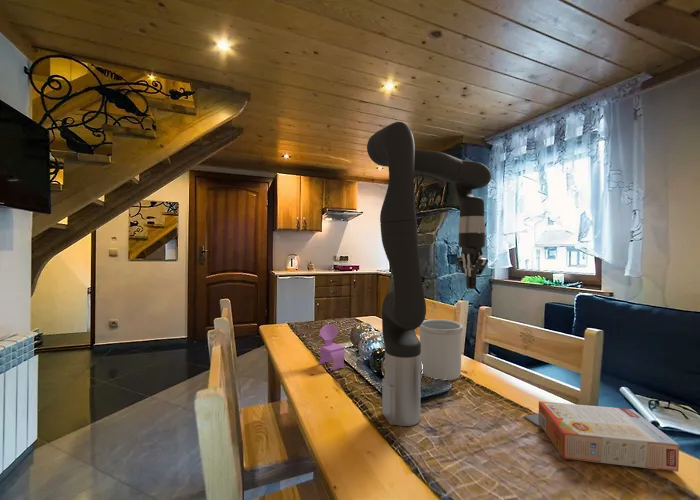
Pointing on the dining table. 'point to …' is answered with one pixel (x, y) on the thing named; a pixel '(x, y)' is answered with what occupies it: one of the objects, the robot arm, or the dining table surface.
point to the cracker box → (607, 436)
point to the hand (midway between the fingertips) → (471, 288)
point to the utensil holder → (441, 348)
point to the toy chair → (331, 348)
